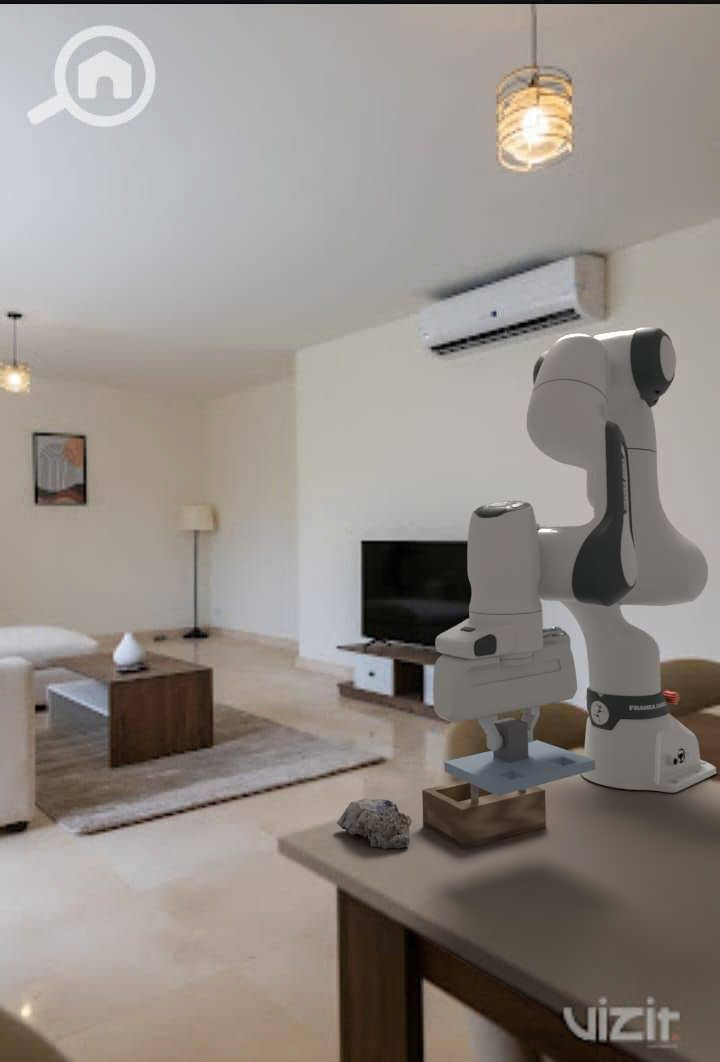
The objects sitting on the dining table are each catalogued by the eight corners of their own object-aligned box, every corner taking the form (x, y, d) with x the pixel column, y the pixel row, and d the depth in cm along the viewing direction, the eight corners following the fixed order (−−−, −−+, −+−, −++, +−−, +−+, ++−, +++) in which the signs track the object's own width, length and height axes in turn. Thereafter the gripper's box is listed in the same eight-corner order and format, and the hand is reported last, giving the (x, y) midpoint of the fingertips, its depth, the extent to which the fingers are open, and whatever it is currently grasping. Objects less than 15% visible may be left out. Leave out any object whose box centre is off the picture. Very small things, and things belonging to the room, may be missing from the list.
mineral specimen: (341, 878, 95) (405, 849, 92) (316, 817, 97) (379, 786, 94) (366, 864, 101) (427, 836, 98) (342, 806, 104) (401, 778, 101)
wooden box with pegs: (502, 807, 109) (501, 748, 109) (546, 826, 101) (544, 763, 101) (423, 826, 102) (421, 764, 102) (462, 849, 94) (461, 781, 94)
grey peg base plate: (537, 749, 98) (535, 706, 98) (595, 769, 89) (593, 723, 89) (444, 771, 91) (443, 725, 91) (498, 796, 82) (496, 745, 82)
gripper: (551, 622, 99) (554, 725, 99) (423, 639, 89) (428, 754, 89) (586, 627, 94) (590, 736, 94) (455, 646, 84) (459, 768, 84)
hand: (510, 745), depth 91 cm, fingers closed on grey peg base plate, 3 cm apart
